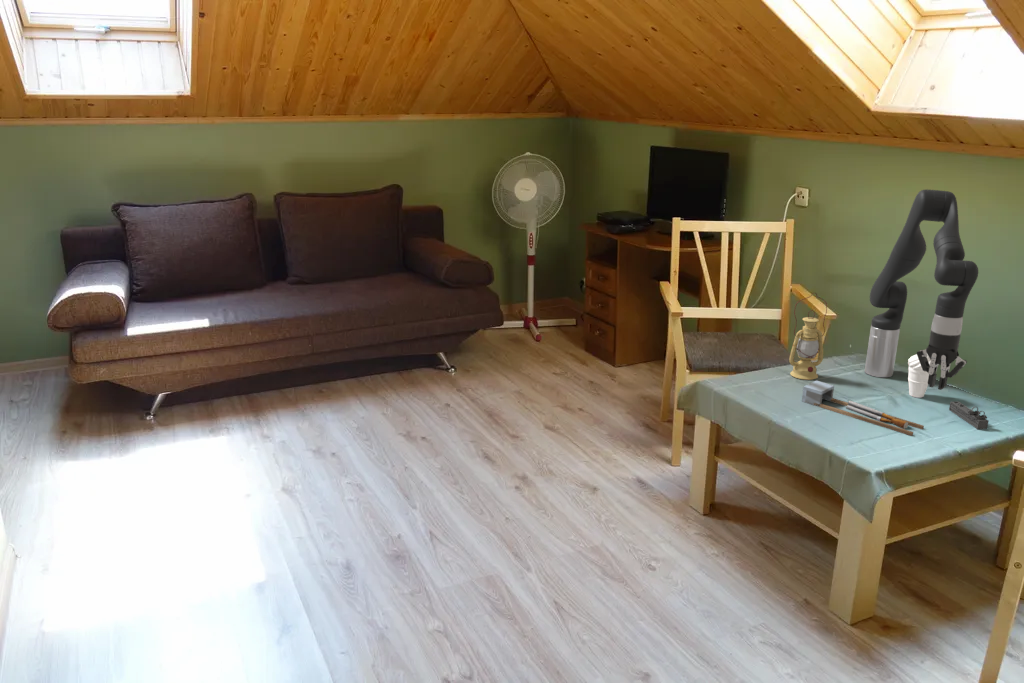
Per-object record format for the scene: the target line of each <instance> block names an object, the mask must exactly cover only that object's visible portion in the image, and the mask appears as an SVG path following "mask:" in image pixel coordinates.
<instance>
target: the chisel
mask: <svg viewBox="0 0 1024 683" xmlns="http://www.w3.org/2000/svg"><path fill="white" fill-rule="evenodd" d="M847 403H848V405H847V406H845V409H846V410H849V411H850V412H854V413H857V414H858V415H861V416H864V417H866V418H870V419H873V420H876V421H879V422H882V423H887V424H888V423H890V424H894V426H896V427H898V428H902V429H905V430H906V429H907V428H908V426H909V425H908V422H905V421H902V420H898V419H894V418H892V417H890V416H891V415H890V416H888V415H889V414H887V415H886V413H885V412H882V411H880V410H876V409H874V408H872V407H869V406H866V405H864V404H861V403H858V402H855V401H852V400H848V402H847ZM850 405H851V406H850ZM852 406H854V407H852ZM855 407H856V408H855ZM858 408H859V409H858ZM860 409H862V410H860ZM863 410H864V411H863ZM866 411H867V412H866ZM869 412H870V413H869ZM871 413H873V414H871ZM874 414H875V415H874ZM877 415H878V416H877ZM880 416H881V417H880Z"/></svg>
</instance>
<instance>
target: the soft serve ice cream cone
mask: <svg viewBox="0 0 1024 683" xmlns="http://www.w3.org/2000/svg"><path fill="white" fill-rule="evenodd" d="M926 357H927V359H928V362H929V365H930V362H931V360H930V358H929V356H928V354H927V356H926ZM907 361H908V362H907V365H908V374H907V375H908V377H907V380H908V391H909V392H908V394H909V396H911V397H913V398H918V399H919V398H924V396H925V394H926V391H927V389H928V387H929V385H928V378H929V373H928V372H926V371H923V369H922V367H921V364H920V361H919V359H918V356H917V353H916V354H914V355H911V356H910V358H908V360H907Z"/></svg>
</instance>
